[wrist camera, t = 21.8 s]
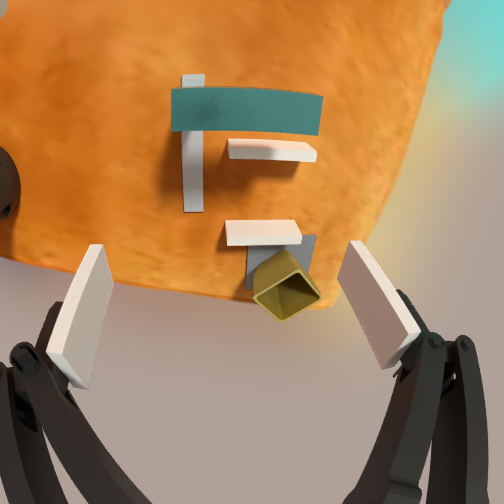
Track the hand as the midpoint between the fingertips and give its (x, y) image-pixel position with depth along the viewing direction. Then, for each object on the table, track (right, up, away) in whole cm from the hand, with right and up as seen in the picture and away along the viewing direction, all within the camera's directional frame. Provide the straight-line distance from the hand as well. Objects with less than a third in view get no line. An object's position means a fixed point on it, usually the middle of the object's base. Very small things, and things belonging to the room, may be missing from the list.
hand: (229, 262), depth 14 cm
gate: (-1, +21, +19) cm, 28 cm away
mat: (+6, -1, +38) cm, 38 cm away
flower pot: (+6, -1, +37) cm, 38 cm away
